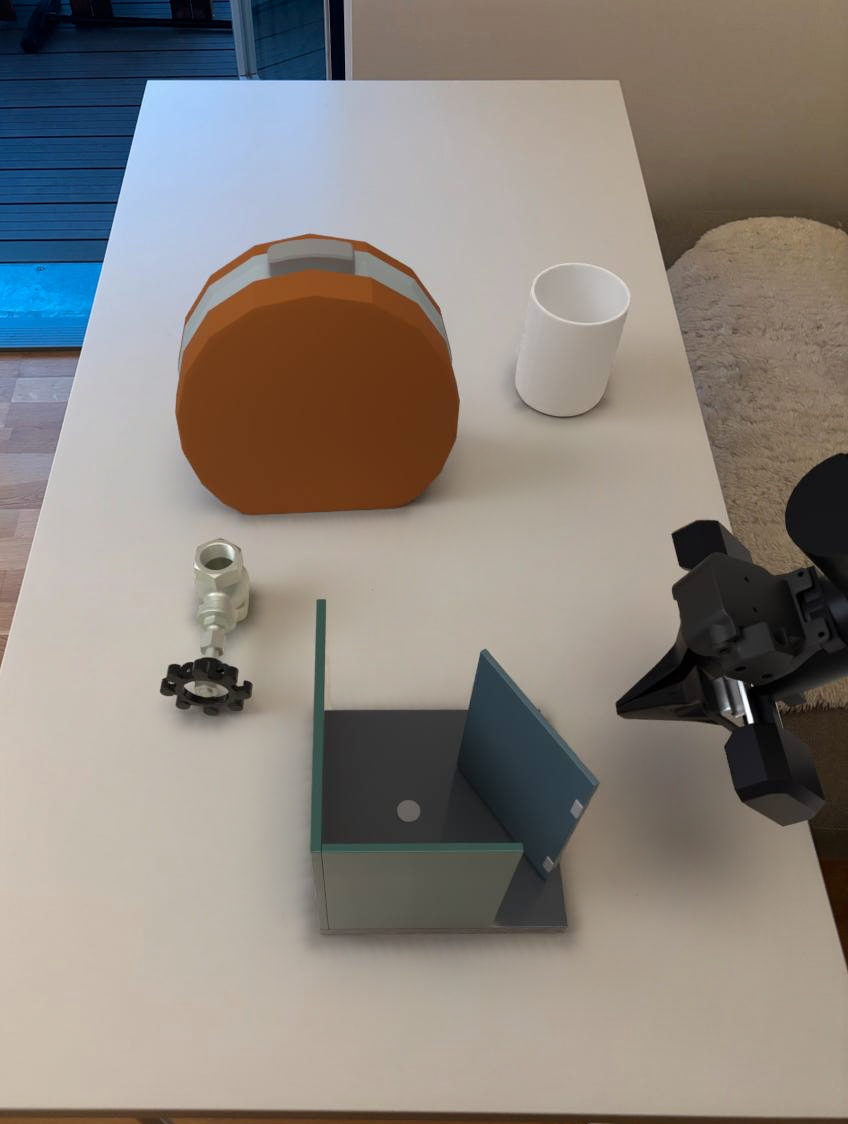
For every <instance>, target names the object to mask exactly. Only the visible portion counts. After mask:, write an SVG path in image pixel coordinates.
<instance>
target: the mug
mask: <svg viewBox="0 0 848 1124" xmlns="http://www.w3.org/2000/svg"><path fill="white" fill-rule="evenodd" d="M631 296H632V295H631V292H630V289H629V287H628V285H627V284H626V282H625V281H624V280H623V279H622V278H621V277H619V276H618V275H617V274H615V273H614V272H612V271H610V270H608V269H607V268H604V267H602V266H598V265H594V264H590V263H584V262H564V263H559V264H555V265H551V266H549V267H546V268H545V269H544V270H542V271H541V272H539V273H538V274H537V275H536V277H535V278H534V279H533V281H532V283H531V287H530V293H529V298H528V303H527V307H526V308H527V309H526V315H525V319H524V323H523V324H524V326H523V331H522V336H521V341H520V346H519V352H518V357H517V362H516V368H515V374H514V377H515V378H514V379H515V380H514V383H515V388H516V391H517V393H518V395H519V397H520V399H522V401H523V402H524V403H526V405H528V407H530V408H532V409H534V410H535V411H538V412H539V413H542V414H545V415H549V416H553V417H575V416H579V415H581V414H584V413H587V412H588V411H590V410H592V409H593V408H594V407H595V406H596V405H597V404H598V403H599V402H600V401H601V399H602V397H603V396H604V394H605V391H606V388H607V384H608V382H609V378H610V376H611V375H610V374H611V371H612V368H613V364H614V360H615V358H616V353H617V350H618V347H619V344H620V340H621V337H622V333H623V330H624V326H625V324H626V320H627V316H628V313H629V309H630V306H631V301H632V297H631Z"/></svg>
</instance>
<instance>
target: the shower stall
mask: <svg viewBox="0 0 848 1124" xmlns="http://www.w3.org/2000/svg"><path fill="white" fill-rule="evenodd" d="M327 604H328V603H327V599H326V598H317V599H316V601H315V605H316V606H315V637H314V639H315V640H314V641H315V642H314V675H313V676H314V679H313V680H314V681H313V683H314V684H313V716H312V717H313V722H312V757H311V792H310V794H311V797H310V799H311V800H310V832H309V833H310V834H309V835H310V836H309V841H310V842H309V857H310V862H311V871H312V879H313V881H312V882H313V889H314V896H315V904H316V912H317V921H318V928H319V934H320V935H375V934H376V935H377V934H378V935H380V934H381V935H382V934H385V935H386V934H387V935H388V934H389V935H390V934H391V935H392V934H393V935H395V934H396V935H397V934H398V935H399V934H401V935H402V934H410V935H411V934H529V933H530V934H535V933H538V934H539V933H541V934H543V933H545V934H546V933H547V934H548V933H549V934H551V933H555V934H556V933H565V932H566V931H567V929H568V927H569V925H568V917H567V910H566V902H565V893H564V886H563V878H562V871H561V870H562V869H561V863H560V860H559V861H558V863H557V865H556V867H555V868H554V869H553V871H552V873H551V875H550V877H549V878H547V879H546V880H545V879H544V878H543V877H542V875H541V874H540V873H539V871H538V870H537V869H536V868H535V866H534V865H533V864H532V862H531V861H530V860H529V858H528V857H527V856H526V855H525V853H524V852H523V851H524V849H523V843H516V842H515V840H514V839H513V838H512V836H511V835H510V834H509V832H508V831H507V830H506V829H505V827H504V826H503V825H502V823H501V822H500V821H499V819H498V818H497V817H496V816H495V814H494V813H493V812H492V810H491V809H490V808H489V806H488V805H487V804H486V803H485V801H484V800H483V799H482V797H481V796H480V795H479V793H478V792H477V791H476V790H475V788H474V787H473V786H472V784H471V783H470V782H469V780H468V779H467V778H466V777H465V775H464V774H463V773H462V771H461V770H460V769H459V767H458V766H457V765H456V764H457V760H458V755H459V750H460V745H461V741H462V736H463V731H464V727H465V722H466V717H467V712H468V709H332V689H331V687H332V686H331V670H330V669H331V668H330V650H329V649H330V648H329V627H328V605H327ZM537 709H538V710H539V711H540V712H541V709H540V708H537Z"/></svg>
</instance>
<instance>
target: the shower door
mask: <svg viewBox="0 0 848 1124" xmlns="http://www.w3.org/2000/svg"><path fill="white" fill-rule="evenodd" d="M475 670H476V671H475V675H474V680H473V684H472V689H471V690H472V691H471V694H470V699H469V702H468V703H469V704H468V708H467V710H468V712H467V717H466V722H465V727H464V731H463V736H462V741H461V745H460V750H459V755H458V760H457V764H456V765H457V766H458V767H459V769H460V770H461V771H462V773H463V774H464V775H465V777H466V778H467V779H468V780H469V782H470V783H471V784H472V786H473V787H474V788H475V790H476V791H477V792H478V793H479V795H480V796H481V797H482V799H483V800H484V801H485V803H486V804H487V805H488V806H489V808H490V809H491V810H492V812H493V813H494V814H495V816H496V817H497V818H498V819H499V821H500V822H501V823H502V825H503V826H504V827H505V829H506V830H507V831H508V832H509V834H510V835H511V836H512V838H513V839H514V840H515V842H516V843H523V849H524V851H523V852H524V853H525V855H526V856H527V857H528V858H529V860H530V861H531V862H532V864H533V865H534V866H535V868H536V869H537V870H538V871H539V873H540V874H541V875H542V877H543V878H544V879H545V880H546V879H547V878H549V877H550V875H551V873H552V871H553V869H554V868H555V867H556V865H557V863H558V861H559V862H560V858H561V856H562V855H563V852H564V851H565V849H566V847H567V845H568V843H569V842H570V839H571V838H572V836H573V834H574V832H575V831H576V828H577V827H578V825H579V824H580V822H581V819H582V818H583V815H584V814H585V813H586V811H587V809H588V807H589V805H590V803H591V801H592V799H593V797H594V795H595V793H596V792H597V789H598V788H599V786H600V784H601V782H600V781H599V779H598V778H597V777H596V775H594V773H593V772H592V771H591V770H590V769H589V768H588V766H587V765H586V764H585V762H583V760H582V759H581V758H580V757H579V756H578V755H577V754H576V752H575V751H574V750H573V749H572V748H571V747H570V745H569V744H568V743H567V742H566V741H565V739H563V737H562V736H561V735H560V734H559V732H558V731H557V730H556V729H555V728H554V727H553V726H552V724H551V723H550V722H549V721H548V720H547V718H546V717H545V716H544V715H543V714H542V713H541V710H540V711H539V710H538V709H539V708H537V706H535V704H534V703H533V702H532V700H531V699H530V698H529V697H528V696H527V695H526V693H524V691H523V690H522V689H521V688H520V686H519V685H517V683H516V682H515V681H514V680H513V678H512V677H511V676H510V675H509V674H508V672H507V671H506V670H505V669H504V668H503V667H502V666H501V664H500V663H499V662H498V661H497V660H496V658H495V657H494V656H493V655H492V654H491V653H490V652H489V650H488V649H487V648H484V649H482V650H480V652H479V656H478V661H477V666H476V669H475Z"/></svg>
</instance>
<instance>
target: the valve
mask: <svg viewBox="0 0 848 1124" xmlns="http://www.w3.org/2000/svg"><path fill="white" fill-rule="evenodd" d="M193 570H194V574H195V579H194V585H195V591H196V594H197V596H198V598H199V600H200V602H202V603H201V604H199V607H198V611H197V616H196V622H197V624H198V625H199V626H200V627H201V628H203V630H204V632H202V635H201V640H200V645H199V648H200V653H201V655H203V657H201V658H196V659H194V661H187V662H185V663H183V664H178V663H170V664H168V666H167V670H166V676H165V677H163V678H162V679H161V680H160V687H159V694H161V695H162V696H164V697H174V696H176V699H175V707H176V708H177V709H179V710H181V711H182V710H183V711H187V710H189V709H190V708H191V707H192V706H195V707H201V708H203V709H202V712H203V714H204V715H206V716H209V717H211V716H212V717H215V716H217V715H219V710H220V708H223V707H226V708H227V709H228V710H229V711H231V712H234V713H235V712H236V713H239V712H242V711H243V710H244V708H245V707H244V705H245V700H249V699H251V698H252V696H253V688H254V687H253V686H254V684H253V683H252V681H249V680H243V683H242V685H238V680H239V675H240V670H239V668H238V667H237V666H233V665H229V664H228V663H225V662H222V661H221V660H220V659H219V658H220V657H223V656H224V655H225V651H226V646H227V638H226V634H228V632H231V631H233V630H235V628H236V627H237V623H239V622H241V621H243V620H245V619H246V618H248V613H249V607H250V594H249V593H250V589H251V578H250V575H249V572H248V570H247V569H246V566H245V565H244V559H243V551H242V548H240V547H239V546H238V545H237V544H234V543H233V542H231V541H229V540H227V539H224V538H221V537H219V538H216V539H213V540H209V541H207V542H204V543H202V544H200V545H198V546H197V547H196V550H195V555H194V562H193ZM193 682H194V686H193V688H194V692H195V693H193V692H191V691H190V690H188V689H187V688H186V687H185V685H187V684H189V683H193ZM220 686H221V687H222V688H224V689H226V690H227V693H226V694H223V695H220V696H217V695H219V688H220Z"/></svg>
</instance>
